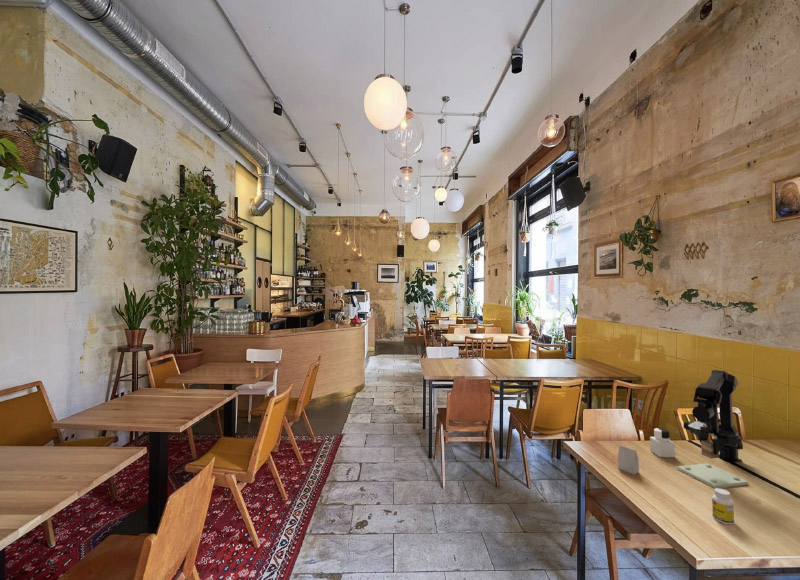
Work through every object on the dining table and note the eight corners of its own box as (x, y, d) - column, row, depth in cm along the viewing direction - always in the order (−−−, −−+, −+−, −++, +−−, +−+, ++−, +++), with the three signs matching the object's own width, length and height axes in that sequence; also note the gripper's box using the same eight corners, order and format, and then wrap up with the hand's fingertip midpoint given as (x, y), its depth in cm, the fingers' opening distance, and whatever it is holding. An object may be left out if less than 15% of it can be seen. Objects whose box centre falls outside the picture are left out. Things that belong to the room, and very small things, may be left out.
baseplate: (707, 466, 157) (707, 462, 157) (748, 484, 141) (748, 480, 141) (677, 469, 154) (677, 465, 154) (715, 488, 139) (715, 483, 139)
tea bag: (634, 474, 150) (633, 451, 150) (618, 468, 156) (617, 445, 156) (638, 472, 152) (638, 449, 152) (622, 466, 158) (622, 444, 158)
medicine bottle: (665, 451, 173) (664, 427, 173) (675, 457, 165) (674, 432, 166) (650, 450, 173) (649, 426, 174) (659, 457, 166) (658, 432, 166)
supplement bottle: (708, 515, 121) (707, 487, 122) (722, 514, 122) (721, 486, 122) (724, 525, 116) (722, 496, 116) (738, 524, 117) (737, 495, 117)
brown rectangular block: (709, 453, 150) (708, 439, 151) (719, 457, 146) (718, 443, 147) (701, 454, 150) (701, 440, 150) (711, 458, 146) (710, 444, 146)
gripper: (672, 410, 156) (673, 445, 156) (716, 424, 138) (717, 464, 138) (693, 408, 158) (694, 443, 158) (739, 422, 140) (740, 461, 139)
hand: (710, 452), depth 148 cm, fingers closed on brown rectangular block, 4 cm apart
